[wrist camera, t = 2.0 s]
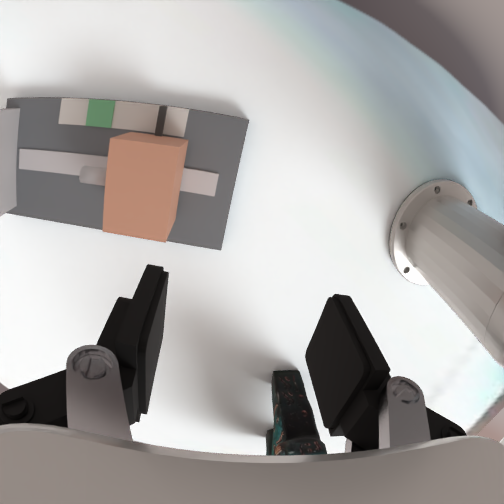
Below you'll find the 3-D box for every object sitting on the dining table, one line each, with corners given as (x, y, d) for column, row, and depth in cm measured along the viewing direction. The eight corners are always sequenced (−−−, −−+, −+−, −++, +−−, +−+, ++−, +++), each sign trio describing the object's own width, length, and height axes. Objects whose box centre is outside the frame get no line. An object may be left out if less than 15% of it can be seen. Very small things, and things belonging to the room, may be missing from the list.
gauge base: (248, 119, 26) (257, 125, 18) (221, 243, 31) (219, 299, 23) (15, 97, 22) (-46, 105, 14) (11, 207, 27) (-42, 243, 19)
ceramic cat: (265, 361, 38) (288, 511, 20) (315, 359, 39) (358, 499, 21) (256, 440, 47) (267, 546, 29) (294, 438, 48) (313, 541, 30)
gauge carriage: (194, 110, 24) (186, 111, 19) (175, 219, 27) (165, 242, 23) (102, 99, 22) (77, 100, 18) (91, 205, 26) (68, 225, 22)
